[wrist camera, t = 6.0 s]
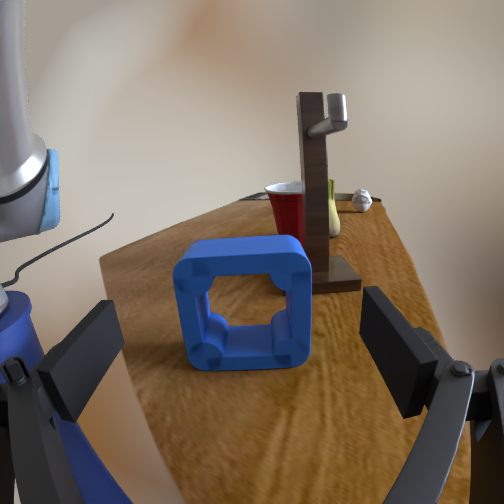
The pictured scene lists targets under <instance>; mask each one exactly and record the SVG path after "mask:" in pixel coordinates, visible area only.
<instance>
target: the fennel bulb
mask: <svg viewBox="0 0 504 504" xmlns="http://www.w3.org/2000/svg"><path fill="white" fill-rule="evenodd" d="M328 188H329V237H336V236H338V235H339V233H340V222H339V218H338V216H337V212H336V207H335V201H334V180H331V179H328Z"/></svg>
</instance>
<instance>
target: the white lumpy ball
mask: <svg viewBox="0 0 504 504" xmlns="http://www.w3.org/2000/svg"><path fill="white" fill-rule="evenodd" d="M352 203H353V205H354V207H355V209H356V210H357V211H359V212H365V211H367V210H368V209H369V207H370V205H371V203H372V200H371V199H370V195H369V193H368V191H365V190H363V189H359V190H357V191H356V192H355V193H354V195H353V198H352Z"/></svg>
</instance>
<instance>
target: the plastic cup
mask: <svg viewBox="0 0 504 504" xmlns="http://www.w3.org/2000/svg"><path fill="white" fill-rule="evenodd" d="M264 189H265V191H266V192H267V194H268V196H269V199H270V202H271V205H272V208H273V213H274V217H275V222H276V226H277V231H278V234H279V235H290V236H293V237H294V238H296V239H297V240H298V241H299V242H300V244H301V246H302V248H303V250H304V247H303V210H302V184H301V181H294V182H283V183H278V184H273V185H269V186H267V187H265V188H264Z"/></svg>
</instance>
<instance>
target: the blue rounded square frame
mask: <svg viewBox="0 0 504 504" xmlns="http://www.w3.org/2000/svg"><path fill="white" fill-rule="evenodd" d="M265 273H270V278H271V281H272V282H273V284H274V285H275V286H276V287H278V288H279V289H281V290H284V291H286V309H285V310H281V311H279V312H277V313H276V314H275V315H274V316H273V318H272V320H271V324H269V325H251V326H228V324H227V322H226V320H225V319H224V318H223V317H222V316H220V315H218V314H215V313H210V306H209V298H208V291H209V289H210V288H211V286H212V284H213V281H214V278H215V276H229V275H248V274H265ZM173 282H174V288H175V294H176V300H177V306H178V311H179V317H180V322H181V327H182V332H183V337H184V342H185V347H186V352H187V357H188V360H189V362H190V363H191V364H192V365H193V366H194V367H196V368H198V369H200V370H204V371H226V370H257V369H275V368H289V367H296V366H299V365H301V364H303V363H304V362H305V361H306V360H307V359H308V357H309V355H310V344H311V300H312V269H311V264H310V262H309V260H308V258H307V256H306V254H305V252H304V250H303V248H302V246H301V244H300V242H299V241H298V240H297V239H296V238H294V237H293V236H290V235H272V236H255V237H239V238H223V239H208V240H198V241H195V242H194V243H192V244H191V245H190V246H189V248H188V249H187V250H186V252H185V253H184V255H183V256H182V257H181V259H180V260H179V262H178V263H177V264H176V266H175V268H174V270H173Z"/></svg>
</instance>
